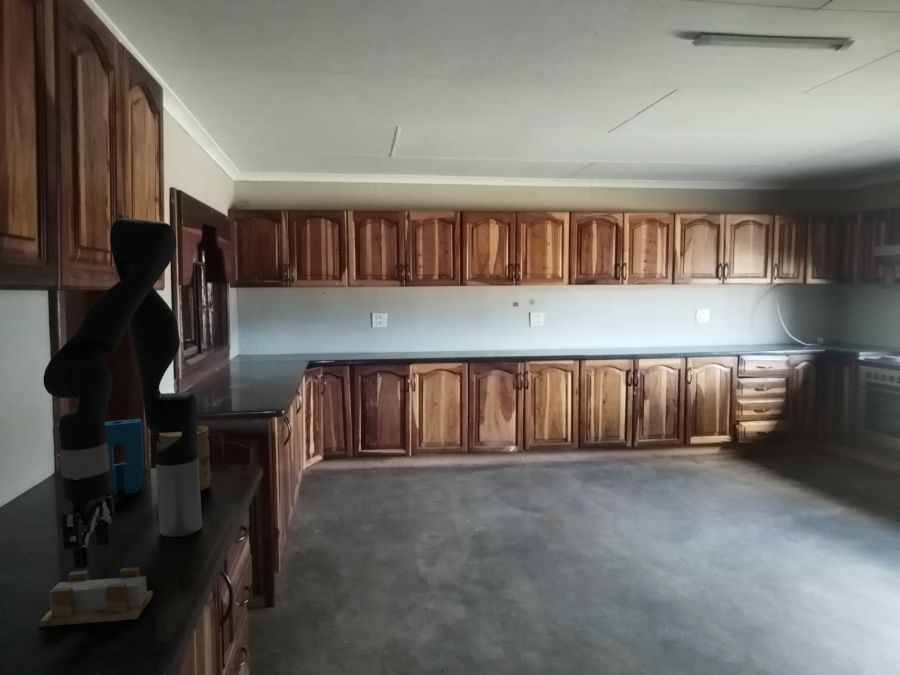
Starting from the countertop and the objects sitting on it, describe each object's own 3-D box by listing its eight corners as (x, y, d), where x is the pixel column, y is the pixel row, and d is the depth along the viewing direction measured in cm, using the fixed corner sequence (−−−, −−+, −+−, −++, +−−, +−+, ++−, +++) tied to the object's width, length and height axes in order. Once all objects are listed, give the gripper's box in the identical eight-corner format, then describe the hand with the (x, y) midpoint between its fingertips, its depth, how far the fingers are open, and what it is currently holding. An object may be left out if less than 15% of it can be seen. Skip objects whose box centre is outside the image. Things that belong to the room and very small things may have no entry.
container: (161, 489, 173) (157, 428, 172) (208, 482, 179) (205, 422, 177) (164, 504, 162) (160, 438, 161) (214, 495, 168) (210, 432, 166)
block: (145, 485, 177) (141, 418, 175) (144, 491, 173) (140, 422, 170) (98, 491, 172) (93, 422, 170) (96, 497, 168) (91, 426, 166)
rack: (63, 602, 114) (60, 571, 113) (152, 595, 116) (151, 565, 115) (40, 626, 106) (37, 593, 105) (137, 618, 108) (134, 586, 107)
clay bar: (61, 603, 112) (59, 582, 111) (147, 596, 114) (145, 576, 113) (51, 613, 108) (49, 592, 108) (140, 606, 110) (138, 585, 110)
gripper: (82, 457, 115) (89, 538, 117) (41, 484, 101) (50, 576, 103) (124, 455, 116) (130, 536, 118) (89, 482, 102) (97, 574, 104)
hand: (93, 555), depth 110 cm, fingers open, 8 cm apart
